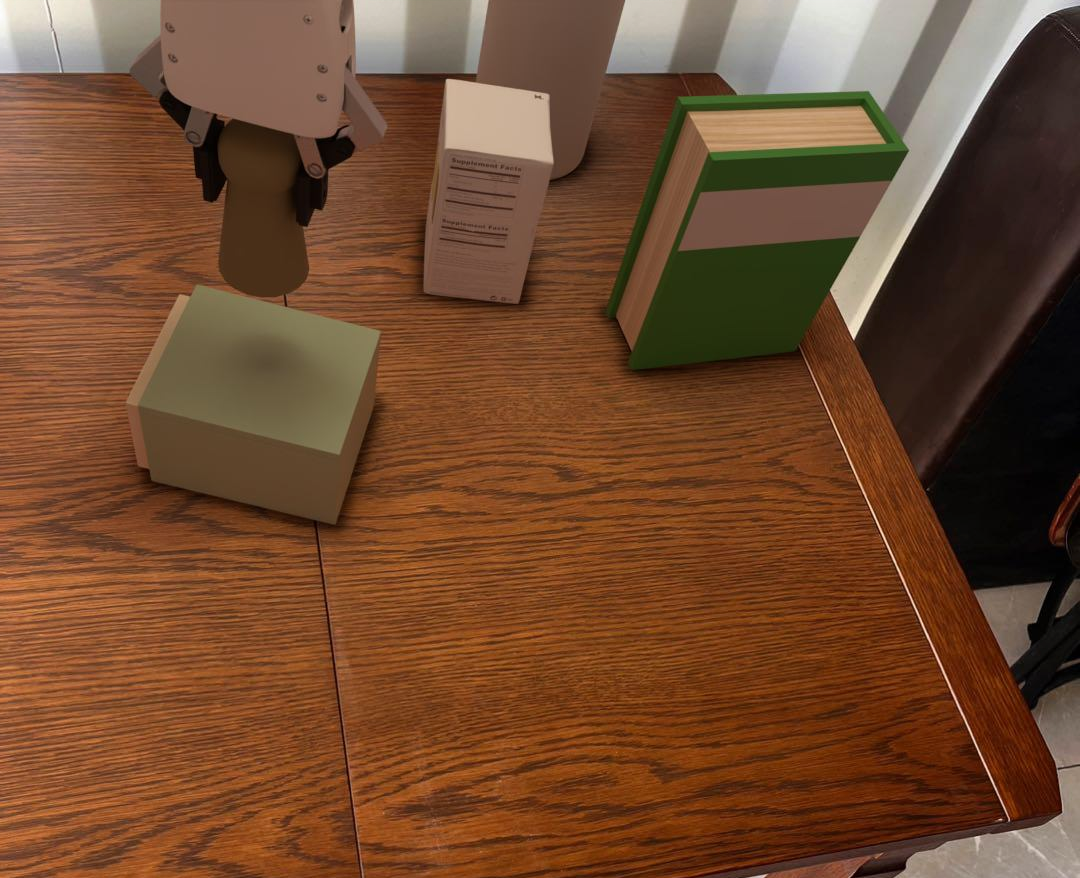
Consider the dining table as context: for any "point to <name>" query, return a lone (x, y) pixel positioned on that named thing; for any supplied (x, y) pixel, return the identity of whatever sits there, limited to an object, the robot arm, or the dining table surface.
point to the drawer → (146, 376)
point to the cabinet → (260, 404)
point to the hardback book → (749, 222)
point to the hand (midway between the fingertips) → (262, 197)
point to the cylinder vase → (553, 62)
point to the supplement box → (486, 190)
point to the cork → (261, 211)
